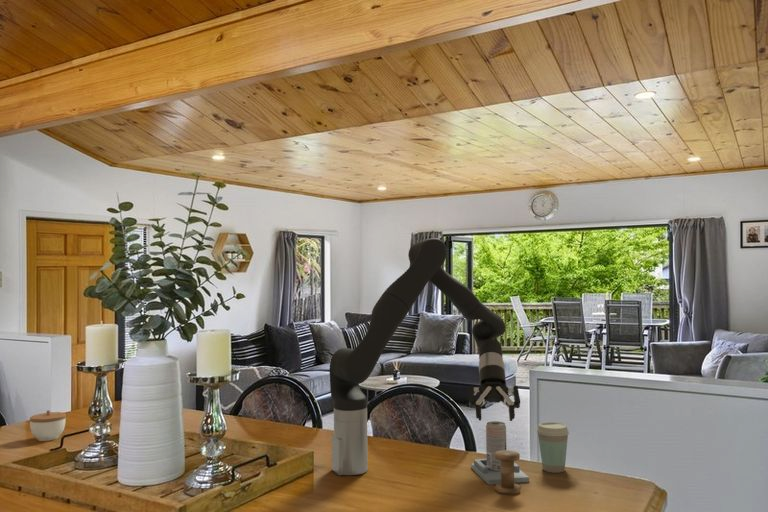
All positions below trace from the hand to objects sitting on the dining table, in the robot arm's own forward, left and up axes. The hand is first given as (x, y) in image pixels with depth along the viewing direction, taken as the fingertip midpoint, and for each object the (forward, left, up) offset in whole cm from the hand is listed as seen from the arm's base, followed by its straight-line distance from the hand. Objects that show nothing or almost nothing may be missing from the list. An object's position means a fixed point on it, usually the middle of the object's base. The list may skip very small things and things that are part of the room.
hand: (495, 419), depth 169 cm
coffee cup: (+13, -8, -14) cm, 20 cm away
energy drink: (-3, -4, -12) cm, 13 cm away
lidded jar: (-116, +94, -14) cm, 150 cm away
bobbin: (-8, -16, -13) cm, 22 cm away
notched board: (-3, -5, -13) cm, 15 cm away
